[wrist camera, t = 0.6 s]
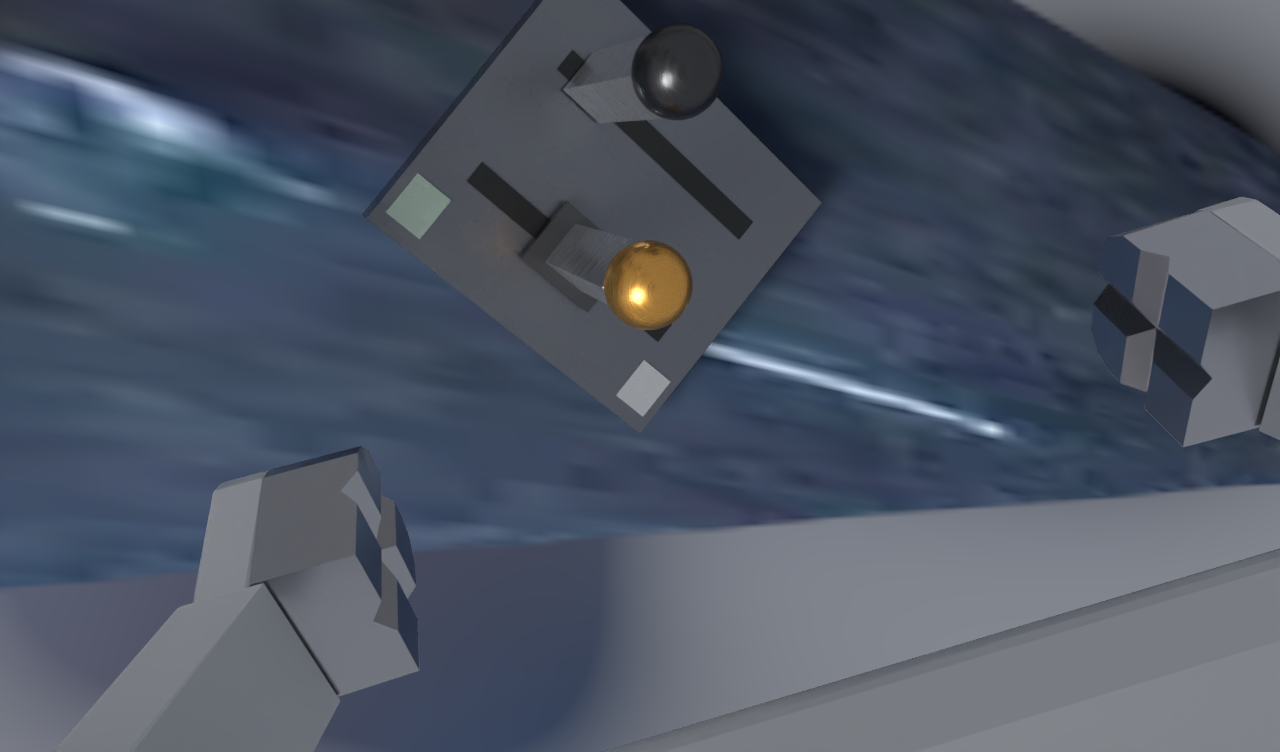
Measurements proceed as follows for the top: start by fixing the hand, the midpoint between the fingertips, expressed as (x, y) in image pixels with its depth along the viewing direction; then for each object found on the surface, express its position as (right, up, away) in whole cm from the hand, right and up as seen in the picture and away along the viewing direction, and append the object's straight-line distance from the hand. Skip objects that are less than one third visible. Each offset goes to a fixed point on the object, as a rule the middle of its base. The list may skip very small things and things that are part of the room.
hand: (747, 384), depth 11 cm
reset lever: (-4, +6, +40) cm, 41 cm away
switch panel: (-4, +9, +43) cm, 44 cm away
